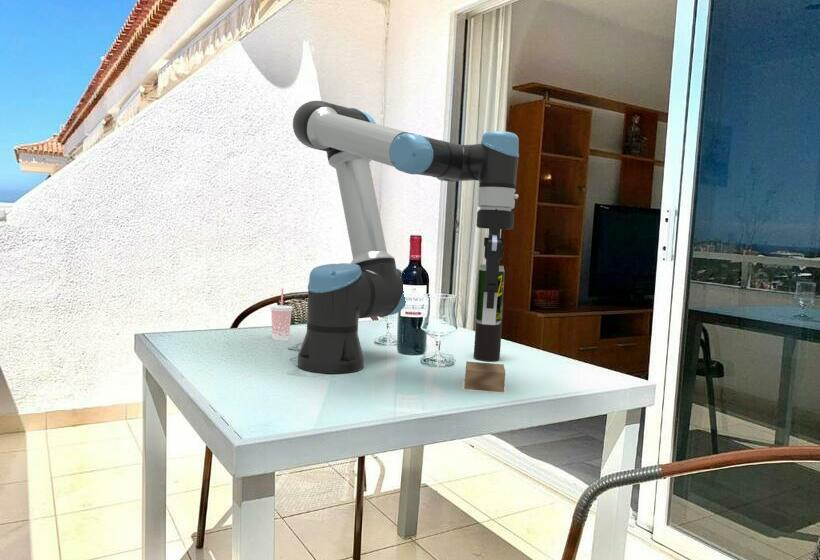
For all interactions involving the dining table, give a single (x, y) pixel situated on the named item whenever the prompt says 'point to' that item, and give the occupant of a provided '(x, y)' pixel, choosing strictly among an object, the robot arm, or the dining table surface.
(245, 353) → the dining table surface
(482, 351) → the bottle
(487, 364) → the walnut block
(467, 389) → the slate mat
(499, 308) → the beer can
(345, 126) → the robot arm
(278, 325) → the beverage cup
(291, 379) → the dining table surface
